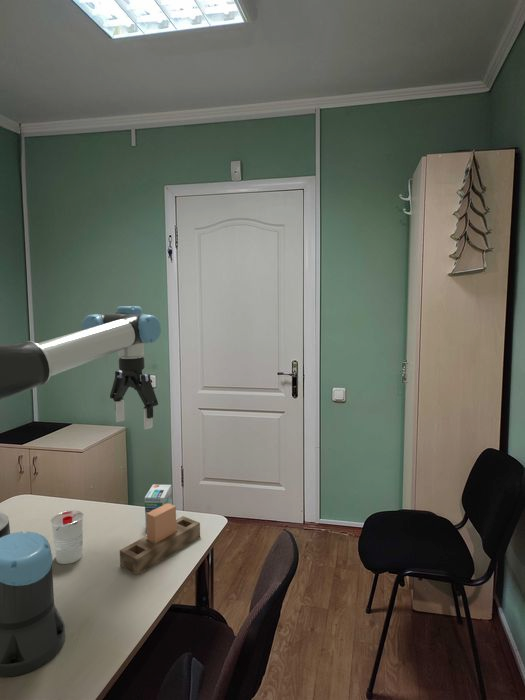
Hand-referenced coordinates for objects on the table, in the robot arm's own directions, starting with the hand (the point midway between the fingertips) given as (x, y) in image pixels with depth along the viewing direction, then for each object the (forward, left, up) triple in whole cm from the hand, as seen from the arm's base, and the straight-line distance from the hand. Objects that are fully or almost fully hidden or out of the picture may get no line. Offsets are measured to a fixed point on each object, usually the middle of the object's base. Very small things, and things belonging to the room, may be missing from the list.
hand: (134, 424), depth 139 cm
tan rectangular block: (-3, -15, -34) cm, 37 cm away
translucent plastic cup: (-21, +4, -35) cm, 41 cm away
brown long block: (-3, -15, -35) cm, 38 cm away
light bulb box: (+8, -1, -35) cm, 36 cm away
